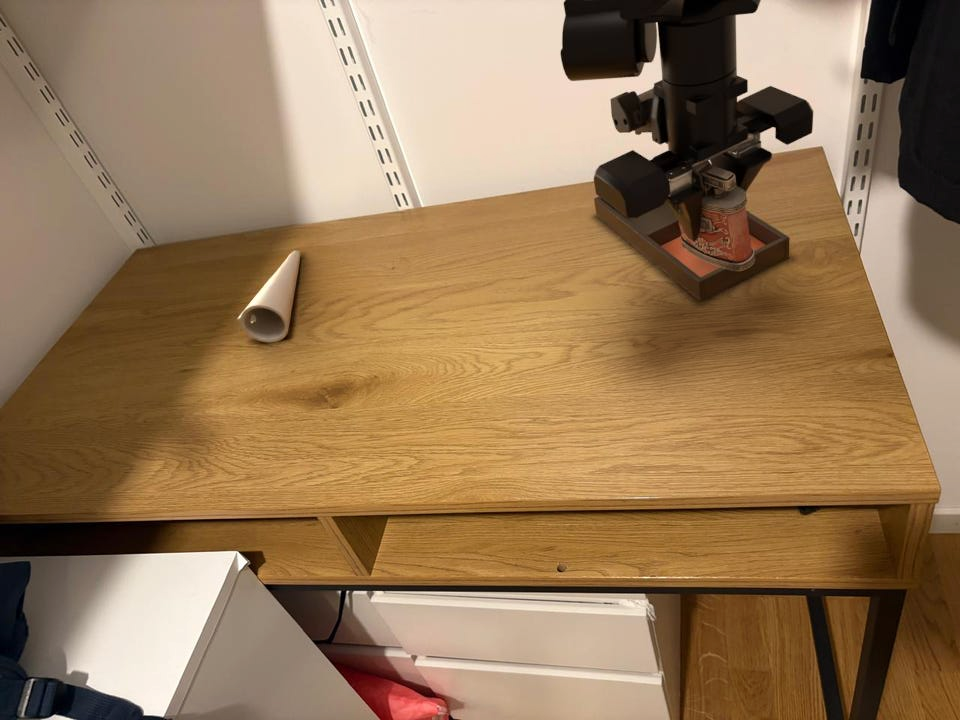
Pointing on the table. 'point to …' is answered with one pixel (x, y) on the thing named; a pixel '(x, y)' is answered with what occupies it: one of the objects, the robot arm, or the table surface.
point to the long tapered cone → (272, 304)
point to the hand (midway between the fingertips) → (707, 231)
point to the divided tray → (664, 249)
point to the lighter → (721, 221)
